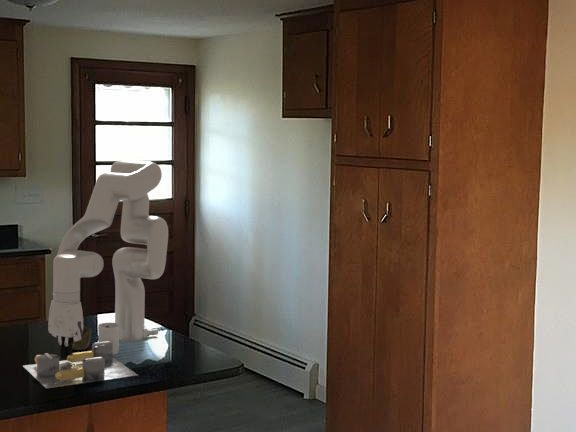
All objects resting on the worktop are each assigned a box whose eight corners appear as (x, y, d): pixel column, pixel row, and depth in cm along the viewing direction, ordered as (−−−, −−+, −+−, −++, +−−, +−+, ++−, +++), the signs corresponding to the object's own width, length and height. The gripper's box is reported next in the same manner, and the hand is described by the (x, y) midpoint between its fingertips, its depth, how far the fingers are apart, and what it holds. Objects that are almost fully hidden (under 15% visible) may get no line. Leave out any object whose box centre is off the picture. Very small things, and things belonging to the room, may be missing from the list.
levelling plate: (109, 359, 251) (109, 354, 251) (138, 380, 232) (138, 374, 231) (22, 370, 237) (22, 365, 237) (45, 393, 218) (46, 387, 217)
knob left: (100, 373, 232) (100, 354, 231) (107, 379, 227) (107, 359, 226) (52, 380, 224) (52, 360, 224) (58, 386, 219) (58, 366, 219)
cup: (69, 358, 251) (69, 332, 250) (64, 352, 257) (64, 327, 257) (94, 355, 254) (94, 330, 254) (88, 349, 261) (88, 325, 260)
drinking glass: (93, 357, 252) (93, 326, 251) (105, 352, 258) (106, 321, 257) (111, 360, 250) (111, 328, 248) (123, 355, 256) (124, 324, 255)
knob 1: (62, 376, 228) (62, 356, 228) (40, 379, 225) (40, 359, 224) (47, 363, 240) (47, 344, 239) (27, 366, 236) (26, 347, 236)
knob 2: (108, 356, 248) (108, 338, 248) (115, 361, 243) (115, 343, 243) (63, 362, 241) (63, 343, 240) (70, 367, 236) (70, 348, 235)
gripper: (38, 295, 240) (38, 356, 242) (76, 302, 233) (75, 365, 235) (57, 291, 247) (57, 351, 249) (94, 298, 239) (94, 359, 241)
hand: (66, 357), depth 242 cm, fingers closed
